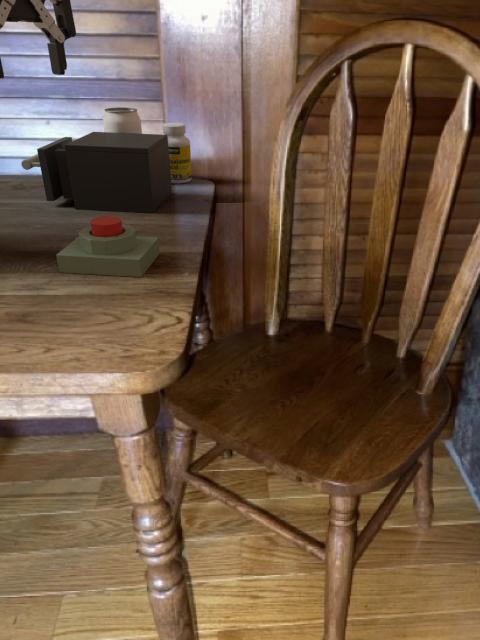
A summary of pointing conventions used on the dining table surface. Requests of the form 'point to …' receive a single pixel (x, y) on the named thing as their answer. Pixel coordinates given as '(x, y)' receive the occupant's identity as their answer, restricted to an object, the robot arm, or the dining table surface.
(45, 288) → the dining table surface
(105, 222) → the button
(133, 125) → the can
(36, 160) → the drawer
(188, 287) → the dining table surface
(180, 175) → the supplement bottle
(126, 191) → the dark grey storage box
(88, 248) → the control block
